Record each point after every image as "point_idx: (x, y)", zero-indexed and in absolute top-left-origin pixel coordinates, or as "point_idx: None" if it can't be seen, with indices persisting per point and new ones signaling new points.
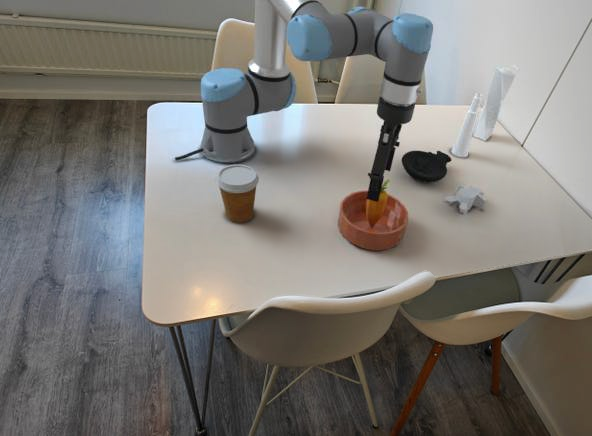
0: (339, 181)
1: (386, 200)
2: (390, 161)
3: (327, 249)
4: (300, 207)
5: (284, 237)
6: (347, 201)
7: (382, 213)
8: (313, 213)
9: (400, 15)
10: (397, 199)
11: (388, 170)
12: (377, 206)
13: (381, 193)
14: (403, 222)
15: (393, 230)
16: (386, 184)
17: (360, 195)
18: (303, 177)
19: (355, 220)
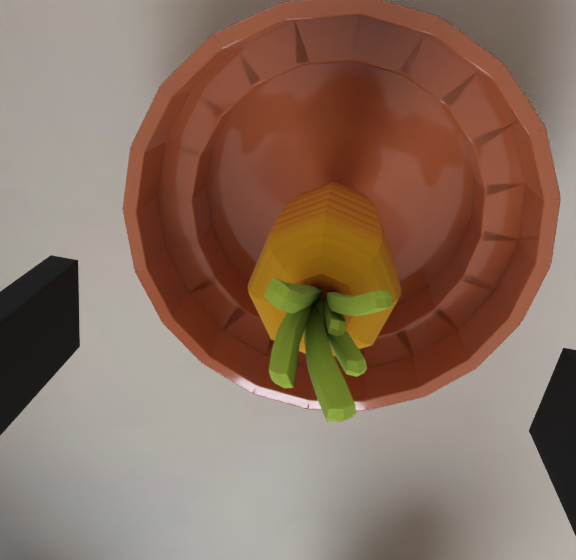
0: None
1: (340, 213)
2: (21, 325)
3: (516, 369)
4: (272, 479)
5: (463, 509)
6: (253, 363)
7: (338, 185)
8: (295, 436)
9: None
10: (160, 90)
11: (75, 276)
12: (393, 261)
13: (349, 285)
14: (322, 22)
15: (513, 107)
16: (299, 287)
17: (181, 307)
18: (77, 487)
19: None
